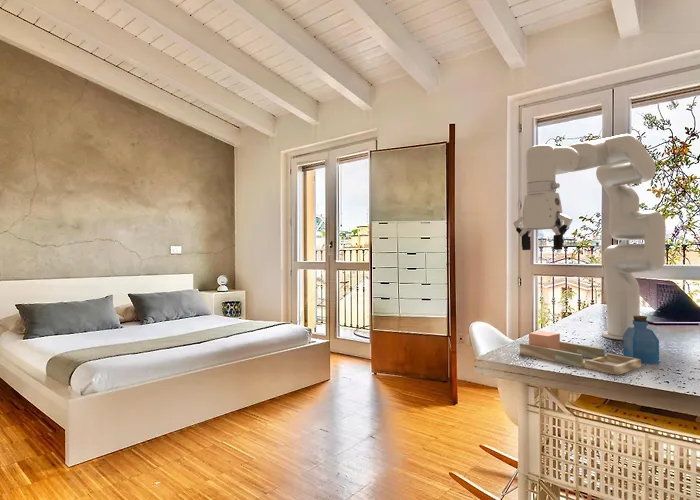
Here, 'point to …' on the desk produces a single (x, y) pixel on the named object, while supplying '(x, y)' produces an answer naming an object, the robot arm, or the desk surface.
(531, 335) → the block
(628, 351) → the perfume bottle
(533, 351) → the corridor
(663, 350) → the desk surface
